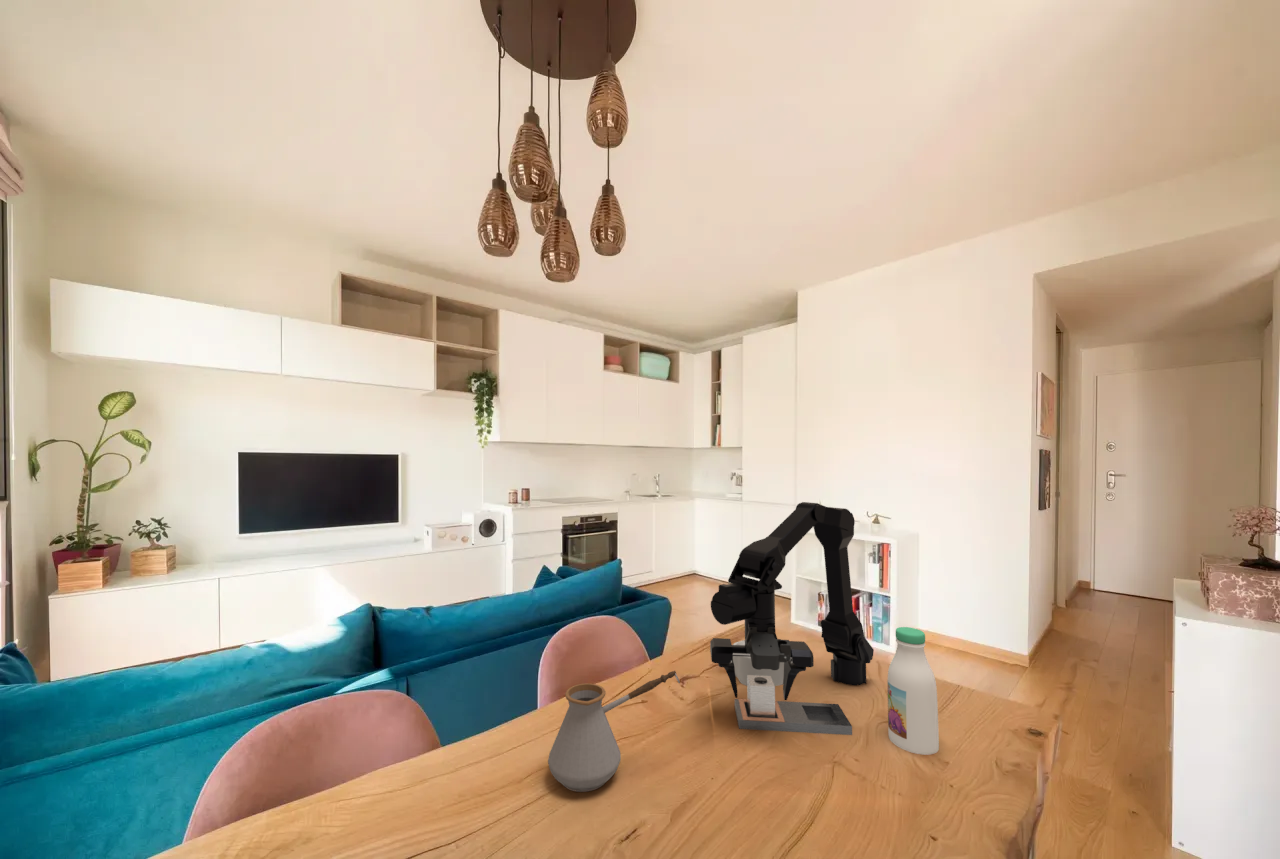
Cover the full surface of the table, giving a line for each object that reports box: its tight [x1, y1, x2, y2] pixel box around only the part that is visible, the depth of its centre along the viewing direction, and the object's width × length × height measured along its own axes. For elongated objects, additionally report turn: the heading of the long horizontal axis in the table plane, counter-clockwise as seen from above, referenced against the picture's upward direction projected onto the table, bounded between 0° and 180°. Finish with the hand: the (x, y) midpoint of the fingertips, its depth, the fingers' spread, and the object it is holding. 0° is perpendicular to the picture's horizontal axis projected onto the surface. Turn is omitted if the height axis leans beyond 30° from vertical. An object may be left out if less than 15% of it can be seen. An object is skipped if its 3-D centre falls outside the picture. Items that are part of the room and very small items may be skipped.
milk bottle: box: [887, 626, 940, 756], centre depth 86 cm, size 8×8×20 cm
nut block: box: [746, 675, 776, 718], centre depth 93 cm, size 4×4×7 cm
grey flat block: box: [734, 698, 853, 736], centre depth 93 cm, size 20×8×3 cm, turn 85°
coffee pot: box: [547, 670, 681, 793], centre depth 79 cm, size 21×12×15 cm, turn 101°
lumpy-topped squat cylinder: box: [732, 639, 784, 687], centre depth 112 cm, size 10×13×9 cm
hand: (760, 698), depth 93 cm, fingers open, 9 cm apart
